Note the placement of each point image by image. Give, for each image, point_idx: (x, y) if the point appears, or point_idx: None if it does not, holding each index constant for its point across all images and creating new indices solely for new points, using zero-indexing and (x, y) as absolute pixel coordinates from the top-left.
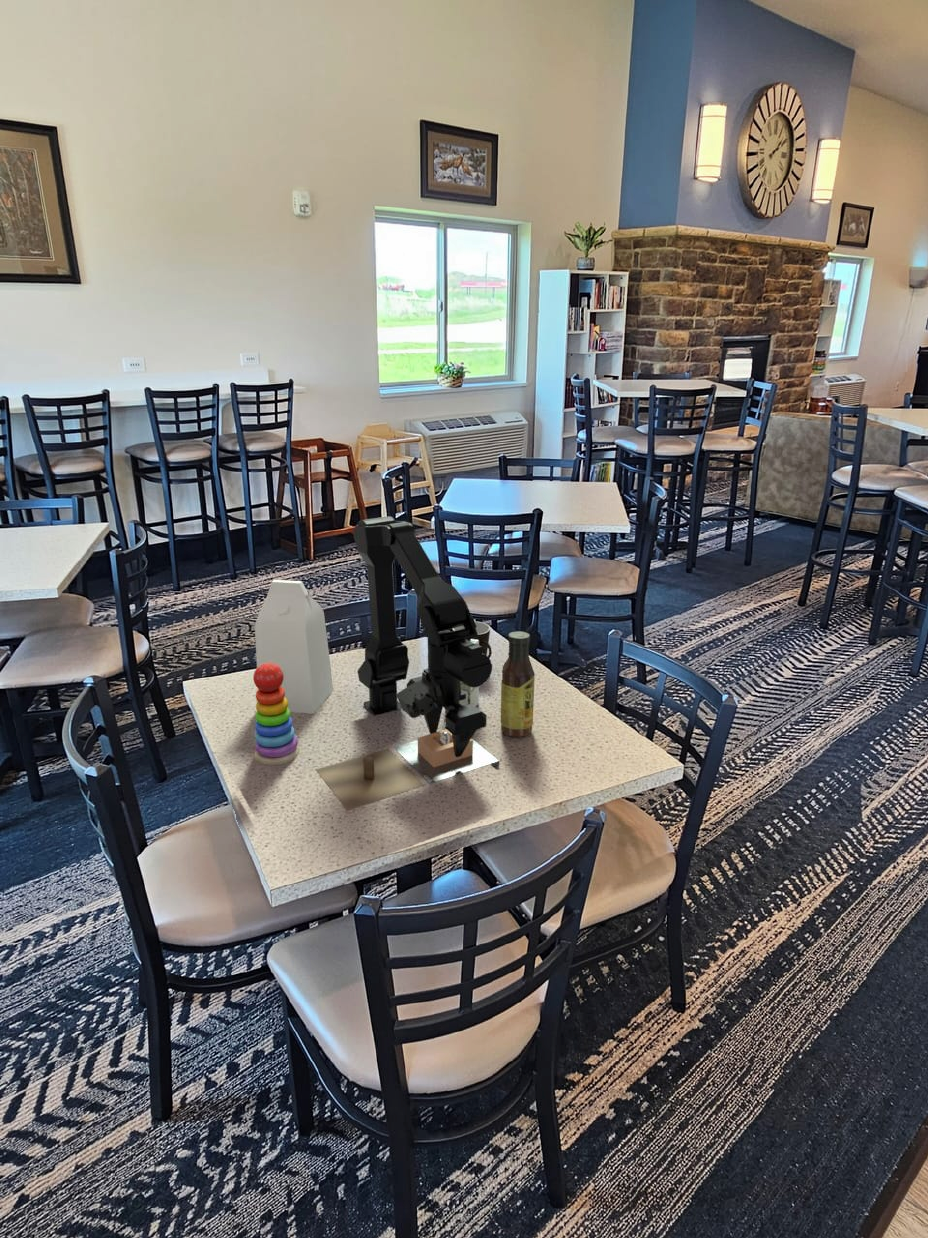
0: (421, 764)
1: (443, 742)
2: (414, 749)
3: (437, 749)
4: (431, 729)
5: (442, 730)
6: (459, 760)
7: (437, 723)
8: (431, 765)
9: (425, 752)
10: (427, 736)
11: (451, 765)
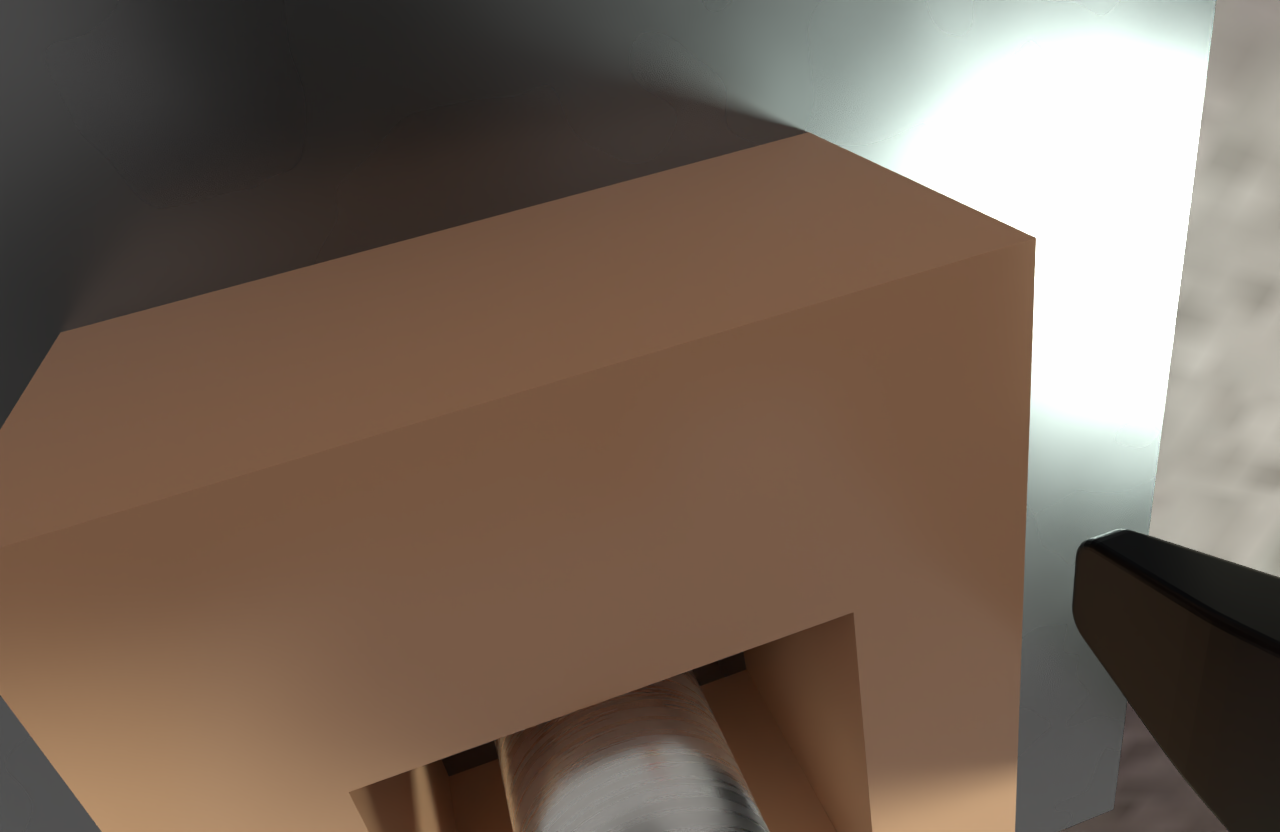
0: (256, 71)
1: (544, 814)
2: (940, 91)
3: (127, 694)
4: (1173, 629)
5: (1015, 814)
6: None
7: (1244, 819)
8: (162, 296)
9: (498, 287)
10: (956, 513)
11: None
